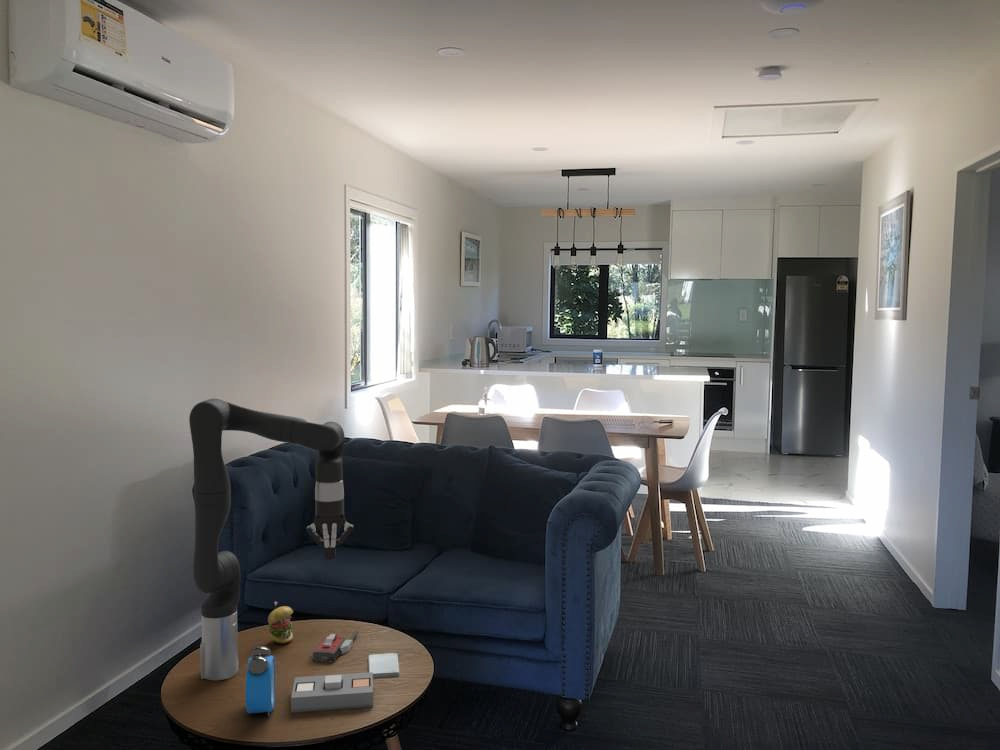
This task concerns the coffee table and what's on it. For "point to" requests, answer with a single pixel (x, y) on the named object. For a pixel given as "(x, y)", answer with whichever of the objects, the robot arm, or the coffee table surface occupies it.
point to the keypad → (332, 694)
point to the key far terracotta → (361, 683)
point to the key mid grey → (333, 682)
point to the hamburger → (280, 624)
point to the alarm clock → (260, 681)
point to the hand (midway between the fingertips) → (330, 560)
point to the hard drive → (384, 665)
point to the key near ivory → (305, 687)
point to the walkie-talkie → (332, 647)
